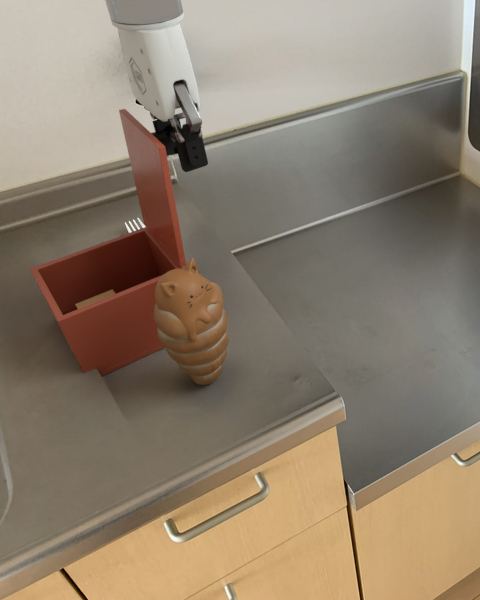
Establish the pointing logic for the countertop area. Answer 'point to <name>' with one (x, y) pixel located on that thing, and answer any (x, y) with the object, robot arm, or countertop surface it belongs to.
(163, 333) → the cat ice cream
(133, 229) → the fork
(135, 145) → the bin lid
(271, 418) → the countertop surface
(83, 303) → the carton
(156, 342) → the trash can
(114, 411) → the countertop surface
